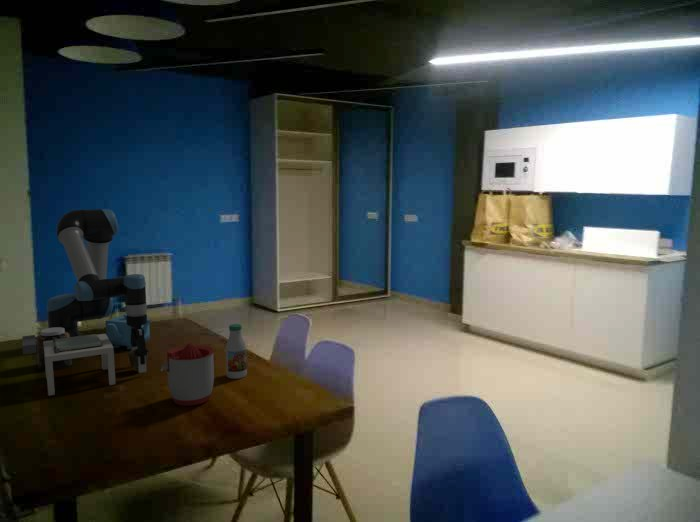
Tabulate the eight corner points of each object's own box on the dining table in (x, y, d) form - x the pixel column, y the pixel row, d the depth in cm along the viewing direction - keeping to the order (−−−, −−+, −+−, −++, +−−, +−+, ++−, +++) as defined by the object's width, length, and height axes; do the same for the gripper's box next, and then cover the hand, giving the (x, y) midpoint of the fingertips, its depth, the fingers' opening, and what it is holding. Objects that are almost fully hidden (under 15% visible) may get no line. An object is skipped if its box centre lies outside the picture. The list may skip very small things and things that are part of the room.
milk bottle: (222, 377, 205) (220, 326, 202) (235, 371, 211) (234, 321, 209) (238, 380, 201) (236, 328, 198) (251, 374, 208) (249, 324, 205)
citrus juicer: (161, 395, 186) (159, 339, 184) (212, 389, 193) (211, 335, 190) (163, 413, 172) (160, 352, 169) (218, 405, 178) (216, 347, 175)
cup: (152, 368, 215) (151, 348, 214) (144, 374, 207) (142, 354, 206) (135, 367, 215) (133, 348, 214) (125, 373, 208) (124, 353, 207)
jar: (46, 372, 209) (43, 335, 207) (33, 366, 216) (30, 330, 214) (77, 364, 219) (74, 329, 217) (63, 359, 226) (60, 324, 224)
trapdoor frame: (45, 377, 204) (42, 337, 202) (107, 367, 215) (105, 329, 213) (48, 395, 186) (45, 352, 184) (115, 384, 197) (113, 343, 195)
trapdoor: (23, 355, 184) (22, 346, 183) (23, 345, 196) (22, 336, 195) (100, 345, 196) (100, 336, 196) (96, 336, 208) (95, 327, 208)
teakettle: (105, 343, 249) (103, 312, 247) (148, 338, 258) (146, 308, 256) (109, 354, 233) (107, 321, 231) (154, 348, 242) (152, 316, 240)
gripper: (121, 309, 217) (124, 360, 220) (131, 322, 196) (134, 378, 199) (140, 307, 221) (143, 357, 224) (153, 319, 200) (156, 374, 203)
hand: (139, 367), depth 211 cm, fingers open, 13 cm apart
